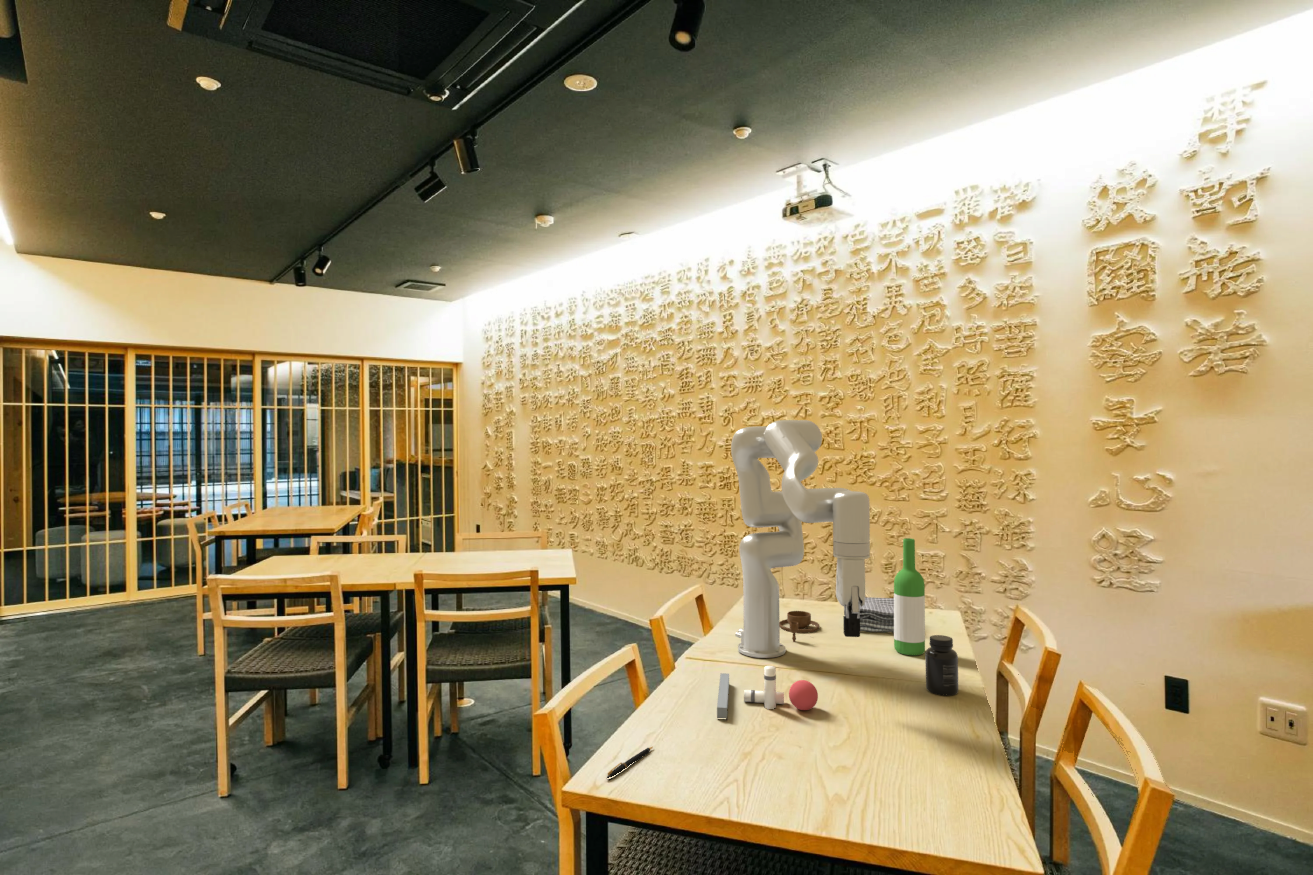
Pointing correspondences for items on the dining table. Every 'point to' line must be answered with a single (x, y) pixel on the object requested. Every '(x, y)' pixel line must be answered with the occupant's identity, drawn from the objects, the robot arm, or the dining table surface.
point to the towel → (877, 615)
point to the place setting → (798, 623)
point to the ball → (803, 695)
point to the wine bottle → (909, 605)
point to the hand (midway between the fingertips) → (851, 635)
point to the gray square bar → (723, 696)
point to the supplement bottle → (941, 666)
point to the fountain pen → (627, 763)
